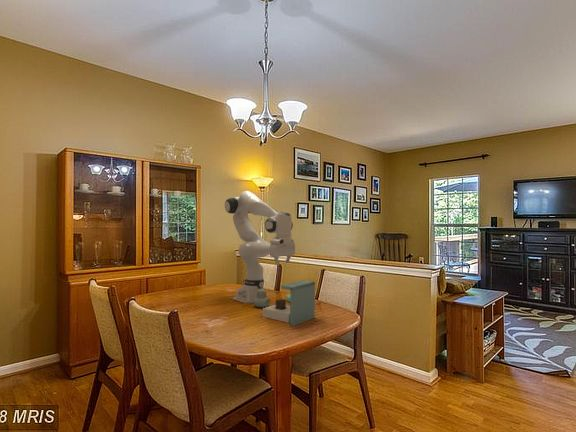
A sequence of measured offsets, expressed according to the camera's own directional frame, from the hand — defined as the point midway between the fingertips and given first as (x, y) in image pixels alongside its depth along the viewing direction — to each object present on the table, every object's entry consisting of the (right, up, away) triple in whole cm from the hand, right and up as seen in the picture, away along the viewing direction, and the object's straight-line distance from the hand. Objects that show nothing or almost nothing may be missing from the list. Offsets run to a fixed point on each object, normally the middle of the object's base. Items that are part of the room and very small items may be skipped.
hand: (282, 263), depth 200 cm
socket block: (+1, -28, -10) cm, 30 cm away
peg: (-1, -28, -8) cm, 29 cm away
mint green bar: (+9, -29, +18) cm, 35 cm away
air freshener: (-13, -28, +12) cm, 34 cm away
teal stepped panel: (+9, -28, -16) cm, 33 cm away
